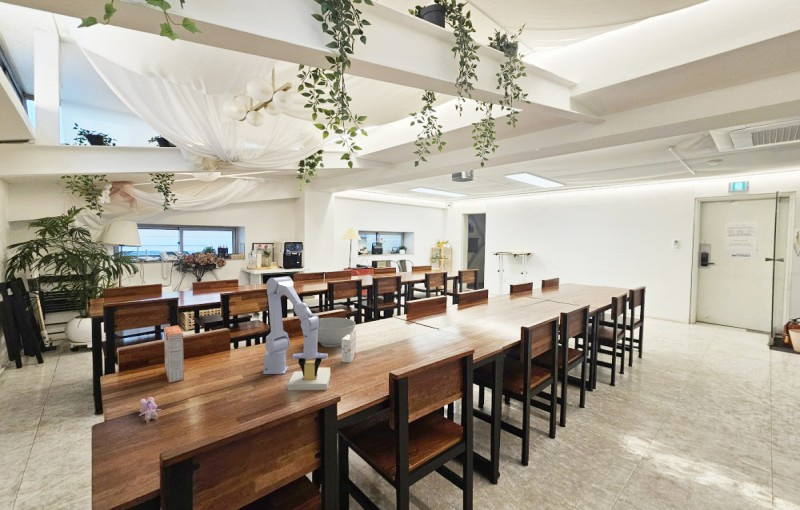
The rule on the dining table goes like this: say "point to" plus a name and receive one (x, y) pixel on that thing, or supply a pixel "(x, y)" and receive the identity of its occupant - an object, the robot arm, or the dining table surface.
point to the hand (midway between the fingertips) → (310, 375)
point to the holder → (309, 381)
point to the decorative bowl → (334, 331)
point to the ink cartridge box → (349, 347)
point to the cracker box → (173, 353)
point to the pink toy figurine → (149, 409)
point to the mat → (324, 369)
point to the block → (309, 370)
